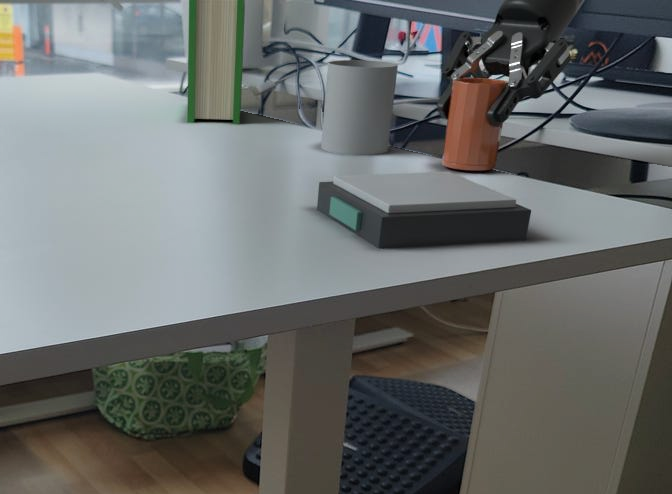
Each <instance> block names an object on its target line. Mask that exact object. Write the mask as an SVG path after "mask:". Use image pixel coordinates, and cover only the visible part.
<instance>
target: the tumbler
mask: <svg viewBox="0 0 672 494" xmlns="http://www.w3.org/2000/svg"><path fill="white" fill-rule="evenodd" d="M508 81H509V80H504V79H497V78H468V77H464V78H457V79H454V80H453V85H452V92H451V99H450V106H449V113H448V120H447V119H446V120H447V121H446V127H445V135H444V141H443V142H444V143H443V147H442V148H443V150H442V157H441V158H442V160H441V165H442V166H444V167H446V168H449V169H454V170H460V171H461V170H462V171H490V170H493V169H495V168H496V164H497V160H498V155H499V148H500V144H501V143H500V142H501V136H502V132H503V131H502V130H503V124H504V122H503V123H501V124H500V126H499V127H494V126H491V124H490V122H489V120H488V117H487V113H488V111H489V109H490V108H491V106H492V105H493V103H494V102H495V100H496V99H497V97H498V96H499V94H500V93H501V91H502V90H503V88H504V87H509V85H508Z"/></svg>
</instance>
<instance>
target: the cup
mask: <svg viewBox="0 0 672 494" xmlns="http://www.w3.org/2000/svg"><path fill="white" fill-rule="evenodd" d="M398 67H399V65H398V64H397V63H393V62H388V61H380V60H379V61H377V60H363V59H362V60H361V59H345V60H344V59H342V60H341V59H340V60H332V61H328V62H327V71H326V85H325V96H324V107H323V108H324V109H323V119H322V131H321V143H320V144H321V146H320V148H321V150H324V151H327V152H329V153H334V154H340V155H353V156H374V155H381V154H385V153H388V152H389V146H390V137H391V127H392V121H393V120H392V119H393V110H394V102H395V95H396V94H395V93H396V86H397V77H398Z"/></svg>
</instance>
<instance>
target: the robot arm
mask: <svg viewBox="0 0 672 494" xmlns="http://www.w3.org/2000/svg"><path fill="white" fill-rule="evenodd" d="M584 3H585V0H504V1H503V2H502V4H501V5H500V6H499V8H498V10H497V13H496V16H495V20H494V23H493V25H492V26H491V27H490V29H488V30H487V31H485V32H484V33H483V34H482V36H471V34H470V32H469V31H463V32H461V33H460V34H459V36H458V38H457V40H456V41H455V44H454V45H453V47H452V49H451V51H450V53H449V54H448V57H447V59H446V61H445V62H444V64H443V66H442V68H441V74H442V76H443V78H444V80H445V83H446V84H447V87H446V88H445V90H444V91H443V93H442V95H441V96H440V97H439V98H438V100H437V104H436V107H437V111H438V114H439V115H440V117H441V119H442V120H448V113H449V106H450V99H451V92H452V85H453V80H454V79H457V78H466V76H468V74H470V73H471V74H470V76H468V77H467V78H488V79H491V77H492V76H504V77H507V78H508V80H507V81H508V85H509V87H504V88H503V90H502V91H501V93H500V94H499V96H498V97H497V99H496V100H495V102H494V103H493V105H492V106H491V108H490V109H489V111H488V113H487V117H488V120H489V122H490V124H491V126H494V127H499V126H500V124H501V123H503V124H504V123H505V122H506V121H507V120H508V119H509V118H510V116H511V114H512V112H513V111H514V110H515V108H516V107H517V105H518V104H519V102H523V100H525V98H529V97H531V98H532V99H534V100H537V99H539V98H541V97H542V96H543V95H544V93H545V92H546V91H547V90H548V89H549V87H550V86H551V85H552V84H553V83H554V81H555V80H556V79H557V78H558V76H560V74H561V73H562V72H563V70H564V69H565V68H566V66H568V64H569V63H570V62H571V60H572V55H571V52H570V48H569V45H568V41H567V40H566V39H565V38H561V37H562V35H563V34H564V32H565V31H566V29H567V28H568V27H569V25H570V23H571V22H572V21H573V19H574V17H575V16H576V14H577V13H578V11H579V10H580V8H581V7H582V5H583V4H584ZM480 62H481V63H482V65H483V69H482V68H481V66H480ZM534 65H535V66H534ZM533 66H534V68H533V69H532V67H533ZM531 69H532V71H531Z"/></svg>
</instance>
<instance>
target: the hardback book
mask: <svg viewBox="0 0 672 494" xmlns="http://www.w3.org/2000/svg"><path fill="white" fill-rule="evenodd" d="M245 13H246V0H188V47H187V48H188V53H187V54H188V55H187V61H188V62H187V117H186V119H187V121H186V122H187V124H189V123H191V124H194V123H195V121H196V120H198V119H199V120H230V121H231V120H232V125H240V121H241V111H242V91H243V68H244V67H243V65H244V41H245V40H244V39H245V16H246V15H245Z"/></svg>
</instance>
